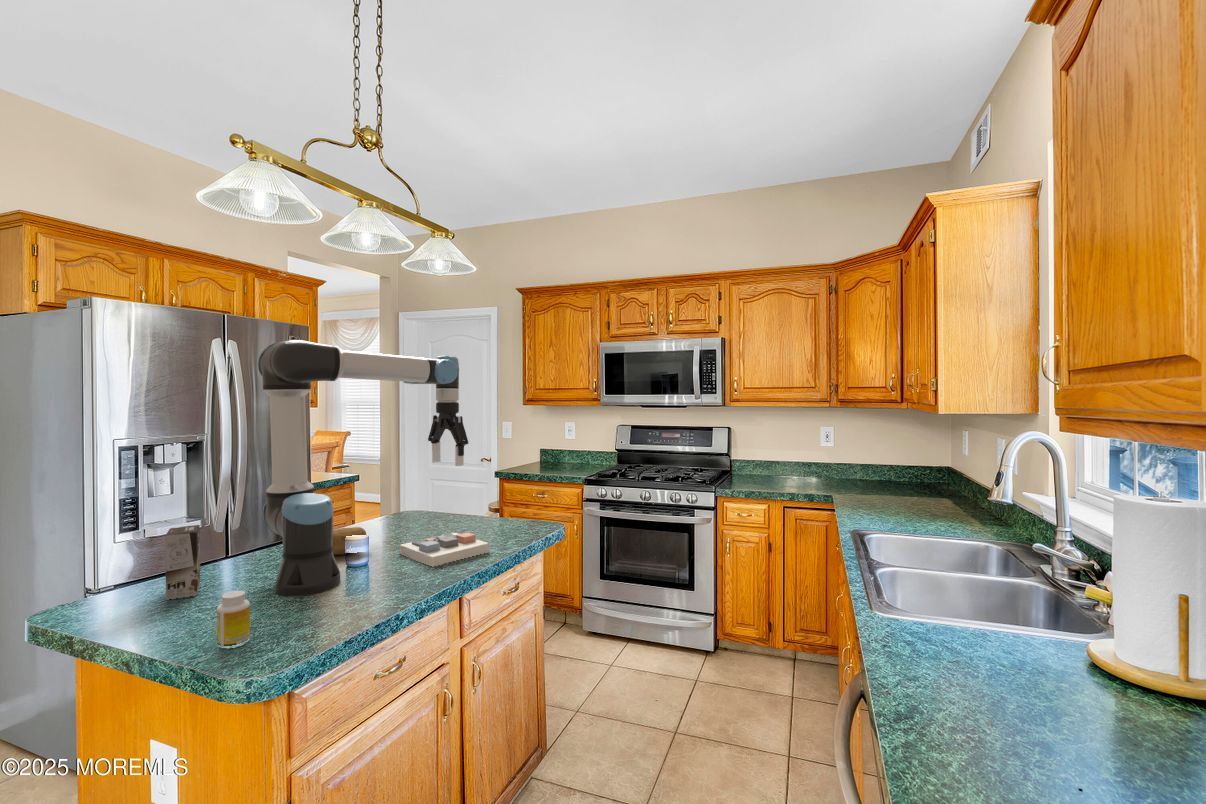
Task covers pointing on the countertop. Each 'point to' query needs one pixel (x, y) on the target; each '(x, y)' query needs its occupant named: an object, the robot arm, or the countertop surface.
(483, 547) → the keypad
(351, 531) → the potato
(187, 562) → the coffee box
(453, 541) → the key charcoal
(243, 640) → the supplement bottle
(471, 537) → the key terracotta
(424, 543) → the key slate
